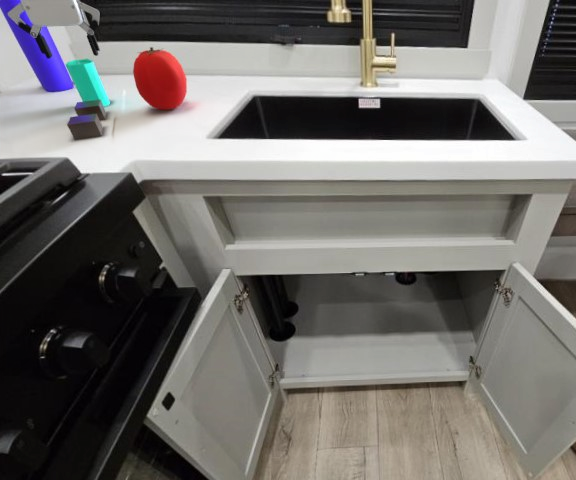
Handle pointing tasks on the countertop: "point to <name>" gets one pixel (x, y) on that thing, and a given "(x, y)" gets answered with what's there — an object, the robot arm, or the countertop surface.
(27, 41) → the bottle
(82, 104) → the dark brown block
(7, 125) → the countertop surface
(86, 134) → the dark grey block
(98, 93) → the candle
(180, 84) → the tomato
